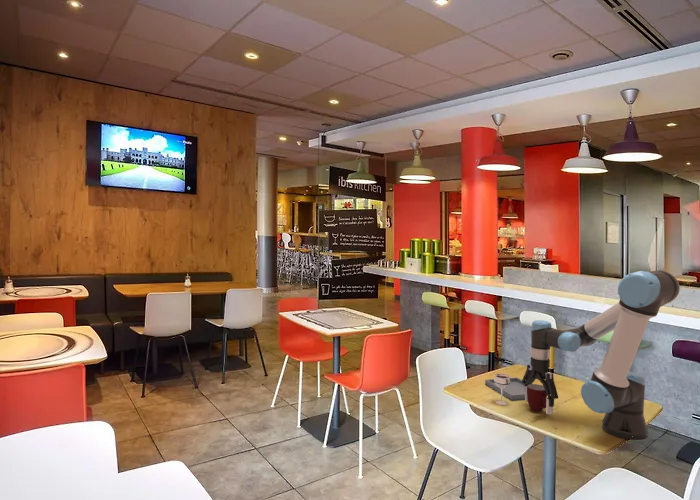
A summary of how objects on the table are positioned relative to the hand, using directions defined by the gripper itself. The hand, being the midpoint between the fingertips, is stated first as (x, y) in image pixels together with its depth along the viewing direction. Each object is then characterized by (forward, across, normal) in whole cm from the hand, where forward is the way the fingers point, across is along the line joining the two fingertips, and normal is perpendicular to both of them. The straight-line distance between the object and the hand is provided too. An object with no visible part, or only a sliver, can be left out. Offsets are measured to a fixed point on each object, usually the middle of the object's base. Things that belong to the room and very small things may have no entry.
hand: (538, 407), depth 192 cm
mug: (+2, 0, 0) cm, 2 cm away
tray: (+2, +24, -5) cm, 25 cm away
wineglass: (+2, +12, +10) cm, 16 cm away
